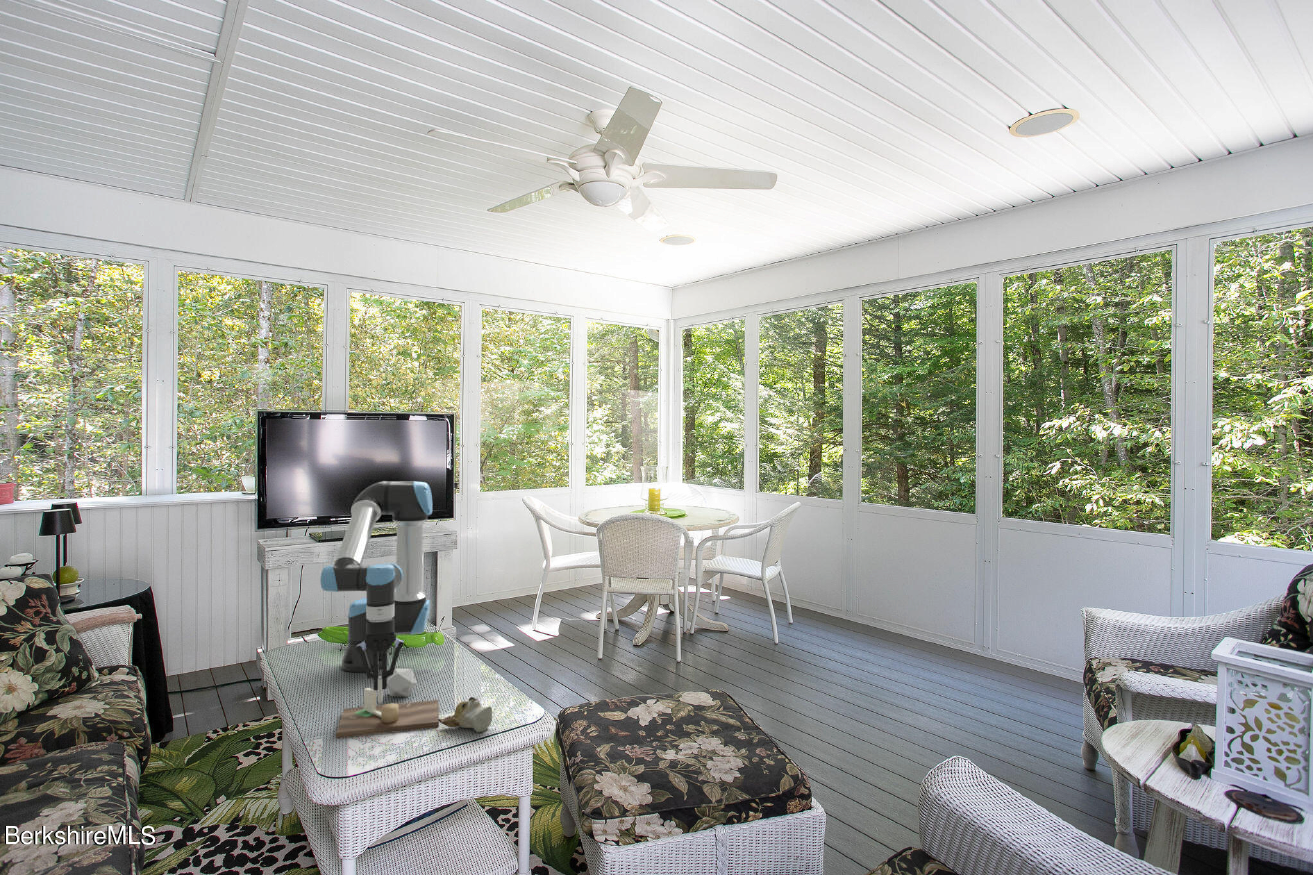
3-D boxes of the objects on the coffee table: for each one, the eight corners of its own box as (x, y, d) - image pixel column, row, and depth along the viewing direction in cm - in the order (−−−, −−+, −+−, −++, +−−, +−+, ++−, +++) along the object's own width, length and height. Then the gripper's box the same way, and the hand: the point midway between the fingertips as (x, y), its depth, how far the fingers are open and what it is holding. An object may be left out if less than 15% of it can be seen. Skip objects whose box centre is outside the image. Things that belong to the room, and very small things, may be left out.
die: (397, 704, 200) (418, 676, 203) (375, 688, 202) (396, 660, 205) (406, 704, 208) (426, 676, 211) (385, 688, 210) (405, 661, 213)
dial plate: (343, 713, 191) (344, 708, 191) (438, 704, 200) (438, 699, 200) (336, 738, 176) (336, 732, 176) (438, 726, 184) (438, 721, 184)
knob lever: (358, 711, 189) (359, 690, 189) (372, 706, 192) (373, 685, 192) (387, 724, 181) (387, 702, 181) (401, 718, 185) (402, 697, 185)
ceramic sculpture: (477, 707, 177) (435, 699, 184) (477, 740, 177) (436, 731, 184) (503, 694, 187) (463, 687, 193) (503, 725, 186) (463, 717, 193)
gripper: (355, 624, 185) (354, 708, 185) (403, 620, 189) (403, 702, 189) (357, 617, 192) (357, 698, 192) (404, 613, 196) (404, 693, 196)
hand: (380, 700), depth 191 cm, fingers closed
